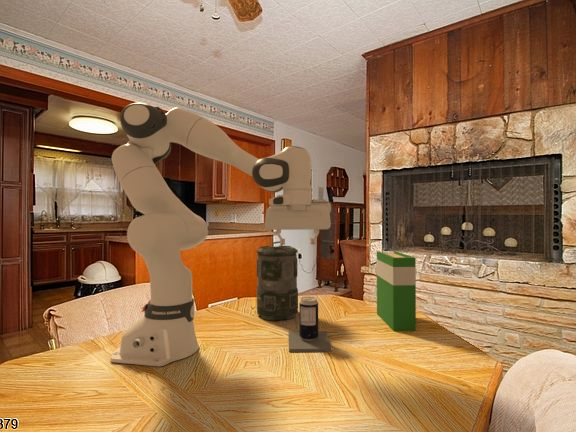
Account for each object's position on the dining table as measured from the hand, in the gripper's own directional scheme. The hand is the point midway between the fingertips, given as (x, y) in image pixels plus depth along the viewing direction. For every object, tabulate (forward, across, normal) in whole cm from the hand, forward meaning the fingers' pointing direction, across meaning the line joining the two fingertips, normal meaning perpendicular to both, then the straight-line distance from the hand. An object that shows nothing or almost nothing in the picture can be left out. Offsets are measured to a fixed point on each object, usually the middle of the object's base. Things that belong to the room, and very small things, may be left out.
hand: (297, 244), depth 96 cm
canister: (+29, +7, -23) cm, 38 cm away
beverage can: (+28, -3, +2) cm, 29 cm away
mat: (+29, -3, +3) cm, 29 cm away
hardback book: (+29, -35, -14) cm, 48 cm away
